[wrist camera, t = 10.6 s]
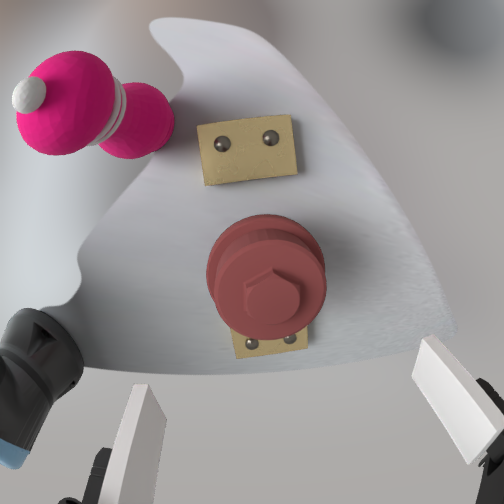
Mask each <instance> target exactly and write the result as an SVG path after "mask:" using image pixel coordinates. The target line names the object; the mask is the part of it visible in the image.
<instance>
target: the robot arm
mask: <svg viewBox="0 0 504 504" xmlns="http://www.w3.org/2000/svg"><path fill="white" fill-rule="evenodd" d="M83 369H84V366H83V360H82V357H81V354H80V352H79V350H78V348H77V346H76V344H75V343H74V341H73V340H72V338H71V337H70V336H69V334H68V333H67V332H66V331H65V330H64V329H63V328H62V327H61V326H60V325H59V324H58V323H57V322H56V321H55V320H53V319H52V318H51V317H49V316H48V315H46V314H45V313H43V312H41V311H38V310H36V309H32V308H24V309H21V310H19V311H18V312H17V313H16V314H15V315H14V316H13V317H12V318H11V319H10V320H9V322H8V324H7V327H6V329H5V332H4V334H3V337H2V339H1V342H0V464H2V465H3V466H6V467H8V468H10V469H19V468H20V467H21V466H22V464H23V462H24V461H25V459H26V457H27V455H28V454H30V451H31V449H32V446H33V444H34V442H35V440H36V437H37V435H38V433H39V431H40V429H41V427H42V425H43V423H44V421H45V419H46V417H47V415H48V412H49V411H50V409H51V407H52V405H53V403H54V402H55V401H56V400H58V399H59V398H60V397H62V396H63V395H64V394H66V393H67V392H68V391H70V390H71V389H72V388H74V387H75V386H76V384H77V383H78V381H79V380H80V378H81V376H82V374H83ZM411 377H412V378H413V380H414V381H415V383H416V384H417V386H418V387H419V389H420V390H421V392H422V393H423V395H424V396H425V398H426V399H427V401H428V402H429V404H430V405H431V407H432V408H433V410H434V411H435V413H436V414H437V416H438V417H439V419H440V421H441V422H442V423H443V425H444V427H445V428H446V430H447V432H448V433H449V435H450V436H451V438H452V440H453V441H454V443H455V445H456V446H457V448H458V450H459V451H460V453H461V455H462V456H463V458H464V460H465V461H466V463H467V465H469V464H471V463H472V462H474V461H475V460H477V459H478V458H480V457H481V456H482V454H483V453H484V452H485V451H487V453H488V454H487V455H486V456H485V457H484V458H483V459H482V460H481V462H480V463H479V467H480V466H481V465H482V464H483V463H484V462H485V464H484V465H483V467H484V470H483V475H482V480H481V484H480V489H479V493H478V496H477V500H476V504H504V400H503V399H502V398H501V397H499V394H498V393H497V392H496V391H494V389H493V387H492V386H491V385H490V384H489V383H488V382H486V381H485V380H483V379H481V378H479V379H477V380H475V379H474V378H473V377H472V376H471V375H470V374H469V372H468V371H467V370H466V369H465V368H464V367H463V366H462V364H461V363H460V362H459V361H458V360H457V359H456V358H455V357H454V355H452V353H451V352H450V351H449V350H448V349H447V348H446V347H445V346H444V345H443V343H442V342H441V341H440V340H439V339H438V338H437V337H436V336H435V335H434V334H432V335H429V336H427V337H424V338H422V341H421V345H420V349H419V352H418V356H417V360H416V363H415V367H414V370H413V373H412V376H411ZM166 421H167V419H166V417H165V415H164V413H163V412H162V410H161V408H160V406H159V404H158V402H157V400H156V399H155V397H154V395H153V393H152V391H151V389H150V387H149V385H148V384H134V385H133V388H132V390H131V393H130V396H129V399H128V402H127V405H126V408H125V411H124V414H123V417H122V420H121V423H120V426H119V430H118V433H117V436H116V439H115V443H114V446H113V449H110V448H102V449H101V450H100V451H99V452H98V454H97V455H96V457H95V460H94V463H93V467H92V469H91V475H90V476H89V480H88V483H87V486H86V490H85V493H84V497H83V500H82V503H81V502H80V501H78V500H77V499H74V498H70V497H69V498H64V499H62V500H60V501H59V503H58V504H153V500H154V494H155V487H156V480H157V473H158V466H159V461H160V454H161V448H162V443H163V437H164V432H165V426H166Z"/></svg>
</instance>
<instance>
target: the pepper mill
mask: <svg viewBox="0 0 504 504" xmlns="http://www.w3.org/2000/svg"><path fill="white" fill-rule="evenodd" d="M12 103H13V106H14V108H15V109H16V111H17V124H18V128H19V131H20V133H21V135H22V137H23V139H24V141H25V142H26V143H27V144H28V145H29V146H30V147H32V148H33V149H35V150H37V151H38V152H40V153H44V154H47V155H66V154H71V153H74V152H76V151H78V150H80V149H82V148H84V147H85V146H94V145H96V144H99V146H100V147H101V148H103V150H105V151H106V152H108V153H109V154H111V155H113V156H115V157H118V158H124V159H135V158H140V157H143V156H145V155H147V154H149V153H151V152H154V151H156V150H158V149H160V148H161V147H162V146H163V145H165V143H166V142H167V141H168V140H169V138H170V137H171V135H172V132H173V129H174V114H173V112H172V109H171V107H170V106H169V103H168V101H167V99H166V97H165V96H164V95H163V94H162V93H161V92H160V91H159V90H158V89H156V88H154V87H153V86H150V85H148V84H145V83H134V82H133V83H126V84H121V83H120V82H119V81H118V79H116V78H115V77H113V76H112V73H111V71H110V69H109V68H108V66H107V65H106V64H105V63H104V62H103V61H102V60H101V59H100V58H98V57H97V56H95V55H93V54H90V53H87V52H83V51H67V52H62V53H59V54H56V55H54V56H53V57H50V58H48V59H47V60H45V61H44V62H42V63H41V64H40V65H39V66H38V67H37V68H36V69H35V70H34V71H33V72H32V73H31V75H30V76H29V77H28V78H25V79H23V80H22V81H21V82H20V83H19V84H18V85H17V86H16V88H15V90H14V92H13V95H12Z"/></svg>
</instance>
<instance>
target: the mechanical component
mask: <svg viewBox="0 0 504 504" xmlns="http://www.w3.org/2000/svg"><path fill="white" fill-rule="evenodd" d="M206 278H207V285H208V289H209V292H210V295H211V297H212V299H213V300H214V302H215V304H216V308H217V310H218V312H219V315H220V316H221V318H222V319H223V321H224V322H225V323H226V324H227V325H228V326H229V327H230V328H232V329H233V330H234V331H236V332H237V333H239V334H241V335H243V336H246V337H249V338H252V339H257V340H276V339H282V338H285V337H288V336H291V335H293V334H295V333H297V332H299V331H301V330H302V329H304V328H305V327H306V326H307V325H309V324H310V323H311V322H312V321H313V320H314V318H315V317H316V316H317V314H318V313H319V311H320V310H321V308H322V306H323V303H324V300H325V297H326V290H327V286H326V277H325V263H324V257H323V254H322V251H321V249H320V247H319V245H318V243H317V242H316V240H315V239H314V238H313V236H312V235H311V234H310V233H309V232H308V231H307V230H306V229H305V228H304V227H302V226H301V225H300V224H298V223H297V222H295V221H293V220H291V219H288V218H286V217H282V216H278V215H270V214H264V215H255V216H251V217H248V218H245V219H242V220H240V221H238V222H236V223H234V224H233V225H232V226H230V227H229V228H227V229H226V230H225V231H224V232H223V233H222V234H221V235H220V237H219V238H218V239H217V240H216V242H215V244H214V246H213V247H212V250H211V253H210V255H209V259H208V264H207V271H206Z"/></svg>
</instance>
